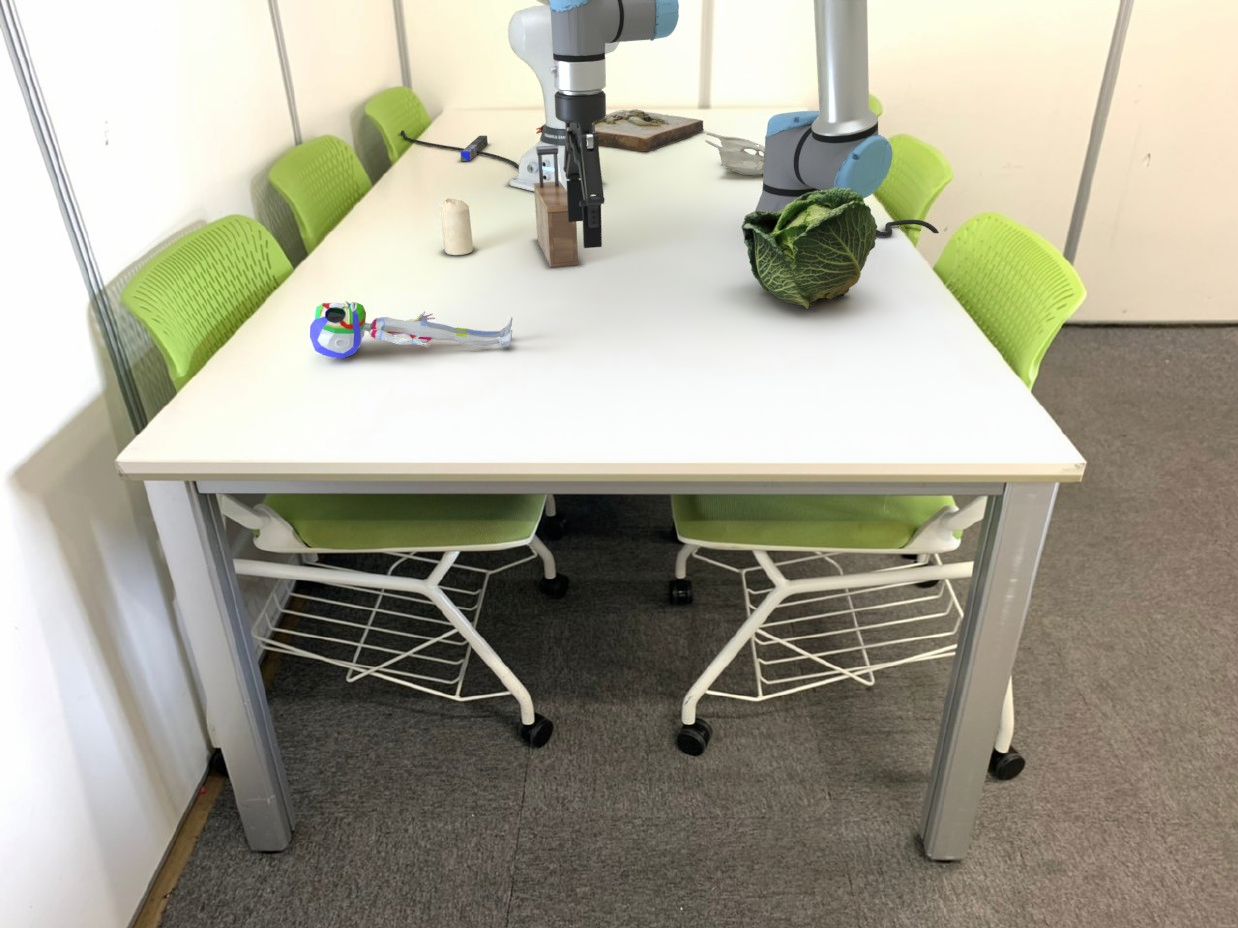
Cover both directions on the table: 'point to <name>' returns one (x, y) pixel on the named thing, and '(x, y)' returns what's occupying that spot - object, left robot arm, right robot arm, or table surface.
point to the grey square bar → (474, 148)
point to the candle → (456, 227)
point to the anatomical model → (739, 155)
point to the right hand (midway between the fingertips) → (584, 233)
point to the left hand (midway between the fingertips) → (605, 39)
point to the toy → (386, 330)
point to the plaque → (644, 129)
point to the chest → (556, 236)
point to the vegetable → (811, 245)
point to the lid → (550, 183)
